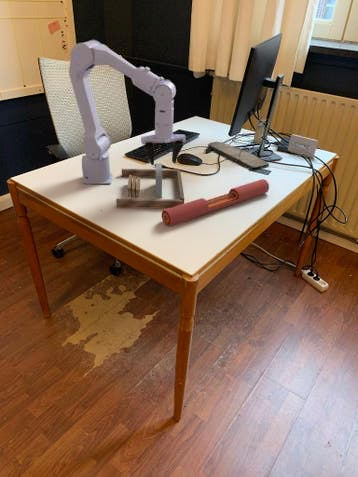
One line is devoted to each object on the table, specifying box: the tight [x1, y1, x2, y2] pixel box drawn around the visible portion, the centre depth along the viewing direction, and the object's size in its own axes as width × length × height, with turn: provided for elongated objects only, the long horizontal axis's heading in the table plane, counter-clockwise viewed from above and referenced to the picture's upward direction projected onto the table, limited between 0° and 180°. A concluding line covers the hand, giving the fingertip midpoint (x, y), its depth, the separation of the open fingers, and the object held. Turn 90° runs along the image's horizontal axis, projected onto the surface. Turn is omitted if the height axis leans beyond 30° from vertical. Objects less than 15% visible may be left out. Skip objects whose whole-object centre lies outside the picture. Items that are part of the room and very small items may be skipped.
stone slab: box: [207, 141, 270, 171], centre depth 153 cm, size 10×3×30 cm
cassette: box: [287, 133, 319, 158], centre depth 157 cm, size 12×2×8 cm, turn 53°
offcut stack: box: [126, 175, 141, 198], centre depth 123 cm, size 4×10×4 cm, turn 4°
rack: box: [115, 168, 185, 209], centre depth 123 cm, size 22×24×3 cm
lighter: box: [253, 118, 267, 143], centre depth 168 cm, size 7×4×10 cm, turn 135°
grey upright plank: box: [155, 162, 163, 198], centre depth 122 cm, size 2×10×8 cm, turn 3°
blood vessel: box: [161, 178, 270, 227], centre depth 116 cm, size 42×5×5 cm, turn 125°
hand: (163, 163), depth 120 cm, fingers open, 7 cm apart
